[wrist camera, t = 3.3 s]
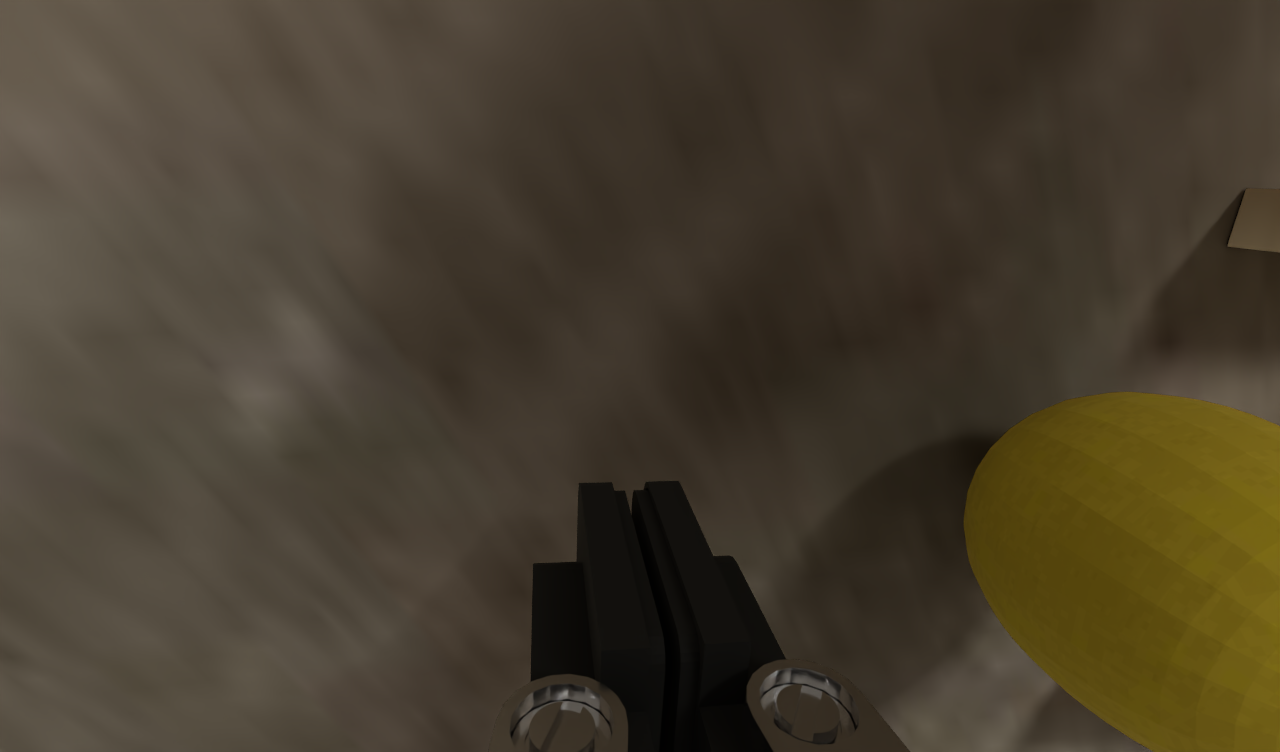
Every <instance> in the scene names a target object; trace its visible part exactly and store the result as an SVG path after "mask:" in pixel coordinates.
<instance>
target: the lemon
mask: <svg viewBox="0 0 1280 752" xmlns="http://www.w3.org/2000/svg"><path fill="white" fill-rule="evenodd" d="M963 524H964V532H965V539H966V546H967V553H968V559H969V562H970V565H971V568H972V570H973V573H974V575H975V577H976V579H977V581H978V583H979V585H980V588H981V590H982V592H983V594H984V596H985V598H986V599H987V601H988V603H989V605H990V607H991V609H992V611H993V612H994V614H995V615H996V617H997V618H998V620H999V621H1000V623H1001V624H1002V625H1003V627H1004V628H1005V629H1006V631H1007V632H1008V633H1009V634H1010V636H1011V637H1012V638H1013V639H1014V641H1015V642H1016V643H1017V644H1018V645H1019V646H1020V647H1021V648H1022V649H1023V650H1024V651H1025V652H1026V653H1027V655H1028V656H1029V657H1030V658H1031V659H1032V660H1033V661H1034V662H1035V663H1036V664H1037V665H1038V666H1040V667H1041V668H1042V669H1043V670H1044V671H1045V672H1046V673H1047V674H1048V675H1049V676H1050V677H1051V678H1052V679H1053V680H1054V681H1055V682H1056V683H1057V684H1058V685H1060V686H1061V687H1062V688H1063V689H1064V690H1065V691H1066V692H1067V693H1068V694H1070V695H1071V696H1072V697H1073V698H1075V699H1076V700H1077V701H1078V702H1080V703H1081V704H1082V705H1083V706H1085V707H1086V708H1087V709H1089V710H1090V711H1091V712H1093V713H1094V714H1095V715H1097V716H1098V717H1100V718H1101V719H1102V720H1104V721H1105V722H1107V723H1108V724H1110V725H1111V726H1113V727H1114V728H1116V729H1117V730H1119V731H1120V732H1122V733H1123V734H1125V735H1126V736H1128V737H1129V738H1131V739H1133V740H1134V741H1136V742H1138V743H1140V744H1141V745H1143V746H1145V747H1146V748H1148V749H1150V750H1152V751H1153V752H1280V426H1278V425H1276V424H1274V423H1271V422H1269V421H1266V420H1264V419H1261V418H1259V417H1256V416H1254V415H1251V414H1249V413H1245V412H1242V411H1239V410H1236V409H1233V408H1230V407H1227V406H1223V405H1219V404H1215V403H1211V402H1207V401H1202V400H1196V399H1190V398H1185V397H1178V396H1168V395H1159V394H1150V393H1138V392H1111V393H1104V394H1098V395H1091V396H1085V397H1079V398H1074V399H1068V400H1065V401H1063V402H1060V403H1058V404H1055V405H1053V406H1050V407H1048V408H1046V409H1043V410H1041V411H1038V412H1036V413H1033V414H1031V415H1030V416H1028V417H1027V418H1025V419H1024V420H1022V421H1021V422H1019V423H1018V424H1016V425H1015V426H1013V427H1012V428H1010V429H1009V430H1008V431H1007V432H1006V433H1005V434H1004V435H1003V436H1002V437H1001V438H1000V439H999V440H998V441H997V442H996V443H995V444H994V445H993V446H992V447H991V448H990V449H989V451H988V452H987V454H986V455H985V457H984V458H983V460H982V461H981V463H980V464H979V466H978V467H977V469H976V471H975V474H974V476H973V479H972V482H971V484H970V487H969V489H968V492H967V499H966V506H965V513H964V523H963Z"/></svg>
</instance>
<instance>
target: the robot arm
mask: <svg viewBox="0 0 1280 752" xmlns="http://www.w3.org/2000/svg"><path fill="white" fill-rule="evenodd" d="M488 752H910V751H909V749H908V748H907V747H906V746H905V745H904V743H903V742H902V741H901V740H900V738H899V737H898V736H897V735H896V734H895V732H894V731H893V730H892V729H891V727H890V726H889V725H888V724H887V723H886V721H885V720H884V719H883V718H882V716H881V715H880V714H879V713H878V712H877V710H876V709H875V708H874V707H873V705H872V704H871V703H870V702H869V701H868V699H867V698H866V697H865V696H864V694H863V693H862V692H861V691H860V690H859V689H858V688H857V687H856V686H855V685H854V684H853V683H852V682H851V681H850V680H849V679H847V678H846V677H844V676H842V675H841V674H839V673H838V672H836V671H834V670H833V669H831V668H828V667H826V666H823V665H820V664H818V663H815V662H811V661H805V660H799V659H786V658H785V656H784V654H783V652H782V650H781V649H780V647H779V645H778V643H777V641H776V639H775V637H774V635H773V633H772V631H771V629H770V627H769V625H768V623H767V621H766V619H765V617H764V615H763V613H762V611H761V609H760V607H759V605H758V603H757V601H756V599H755V597H754V595H753V594H752V592H751V590H750V588H749V586H748V584H747V582H746V580H745V578H744V576H743V574H742V572H741V570H740V568H739V566H738V564H737V562H736V561H735V559H734V558H733V557H731V556H713V555H712V553H711V550H710V548H709V546H708V544H707V542H706V539H705V537H704V535H703V533H702V531H701V528H700V526H699V524H698V522H697V520H696V517H695V515H694V513H693V511H692V509H691V506H690V504H689V502H688V500H687V498H686V495H685V493H684V491H683V489H682V487H681V484H680V483H679V481H656V482H646V483H645V486H644V490H634V492H633V498H632V515H631V512H630V508H629V504H628V501H627V497H626V493H625V491H614V488H613V484H612V482H607V483H579V490H578V524H577V562H560V563H534V564H533V596H532V645H531V682H530V683H528V684H527V685H525V686H523V687H522V688H520V689H518V690H517V691H516V692H515V693H514V694H513V695H512V696H511V697H510V698H509V699H508V700H507V701H506V702H505V703H504V705H503V707H502V709H501V711H500V713H499V715H498V717H497V719H496V723H495V726H494V730H493V734H492V737H491V741H490V745H489V749H488Z"/></svg>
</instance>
